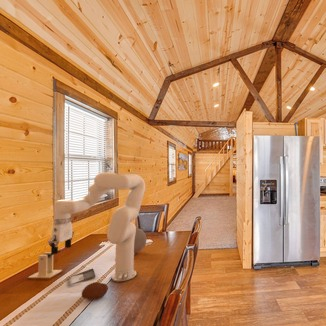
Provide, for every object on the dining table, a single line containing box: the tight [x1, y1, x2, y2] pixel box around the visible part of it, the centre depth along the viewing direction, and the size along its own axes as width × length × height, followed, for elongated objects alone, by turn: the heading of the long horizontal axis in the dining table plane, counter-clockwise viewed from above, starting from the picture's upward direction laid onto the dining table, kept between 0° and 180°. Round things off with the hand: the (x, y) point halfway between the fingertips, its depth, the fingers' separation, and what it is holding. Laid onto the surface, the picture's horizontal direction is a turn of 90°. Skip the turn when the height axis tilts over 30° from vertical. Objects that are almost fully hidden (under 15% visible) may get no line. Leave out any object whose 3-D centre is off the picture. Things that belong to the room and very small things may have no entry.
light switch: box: [70, 268, 96, 285], centre depth 130 cm, size 11×2×12 cm
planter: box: [134, 227, 148, 254], centre depth 169 cm, size 18×7×19 cm, turn 114°
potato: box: [81, 281, 109, 301], centre depth 112 cm, size 8×11×8 cm
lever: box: [47, 246, 67, 258], centre depth 134 cm, size 12×5×2 cm, turn 91°
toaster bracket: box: [27, 251, 63, 279], centre depth 134 cm, size 12×9×13 cm
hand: (61, 250), depth 134 cm, fingers open, 9 cm apart
